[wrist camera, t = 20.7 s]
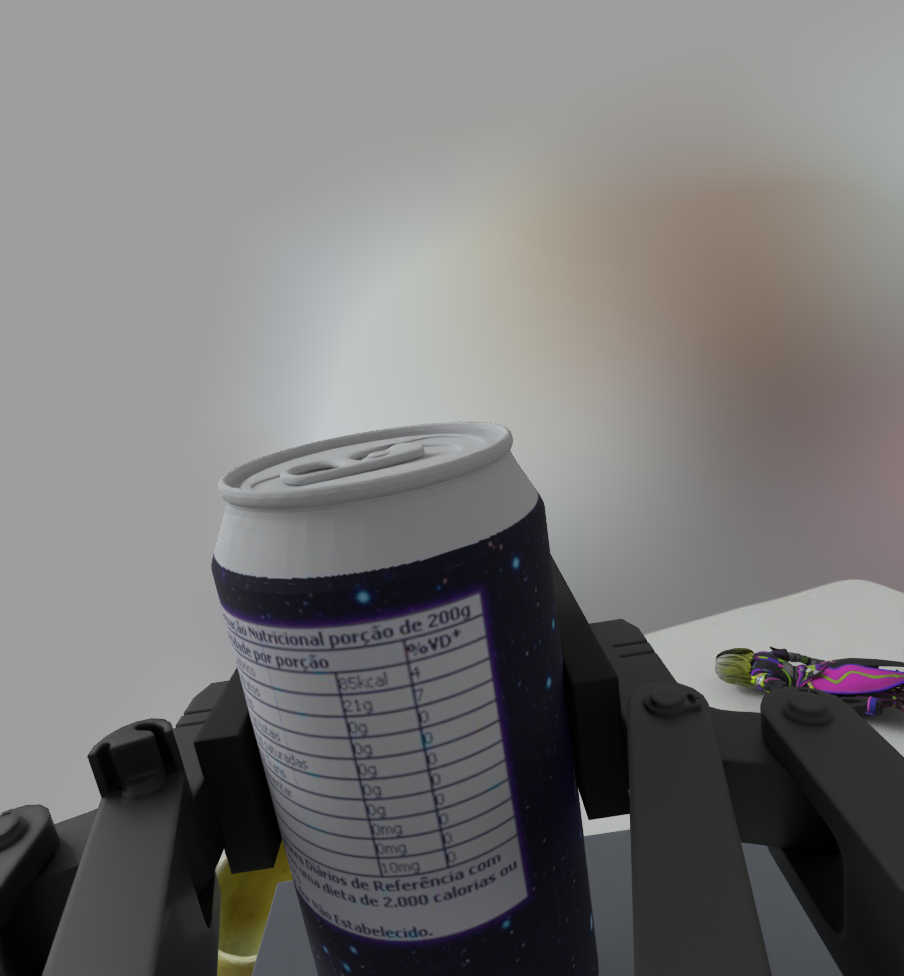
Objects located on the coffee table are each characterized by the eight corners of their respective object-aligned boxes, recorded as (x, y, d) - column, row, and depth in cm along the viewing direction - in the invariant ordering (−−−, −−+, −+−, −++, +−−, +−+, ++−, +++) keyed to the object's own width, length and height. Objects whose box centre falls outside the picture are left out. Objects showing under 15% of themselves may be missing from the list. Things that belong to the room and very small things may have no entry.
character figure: (952, 687, 46) (720, 653, 54) (957, 643, 45) (720, 614, 53) (984, 771, 38) (707, 716, 46) (991, 719, 37) (707, 672, 45)
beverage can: (664, 1028, 12) (611, 426, 9) (402, 1254, 10) (218, 530, 7) (505, 841, 17) (438, 412, 14) (306, 959, 15) (176, 469, 12)
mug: (484, 1040, 26) (365, 850, 25) (264, 1214, 24) (124, 1017, 23) (432, 863, 38) (350, 729, 37) (282, 969, 36) (191, 832, 35)
